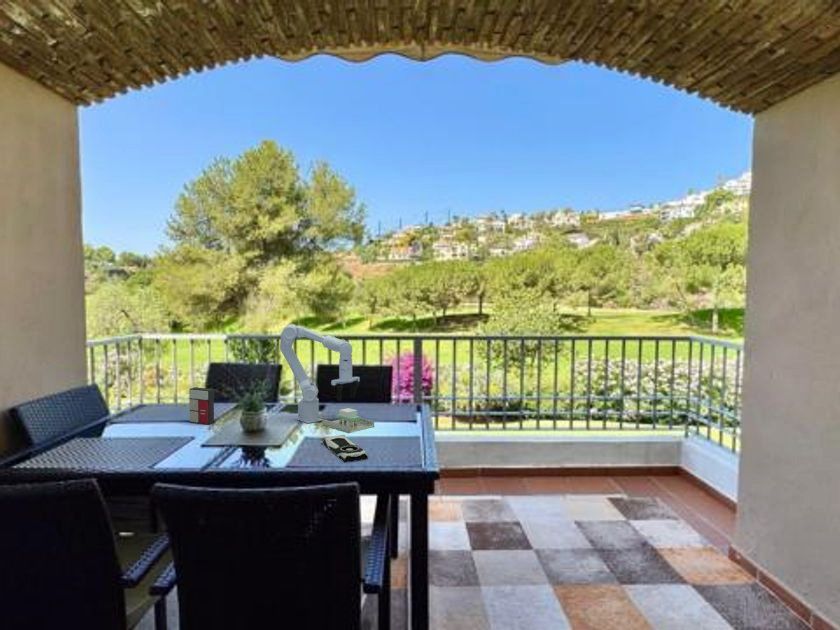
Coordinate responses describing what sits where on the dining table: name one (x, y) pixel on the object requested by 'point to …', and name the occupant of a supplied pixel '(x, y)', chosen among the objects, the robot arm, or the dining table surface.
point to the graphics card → (344, 448)
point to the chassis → (349, 424)
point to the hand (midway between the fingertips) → (345, 399)
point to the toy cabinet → (201, 405)
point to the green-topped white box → (348, 414)
